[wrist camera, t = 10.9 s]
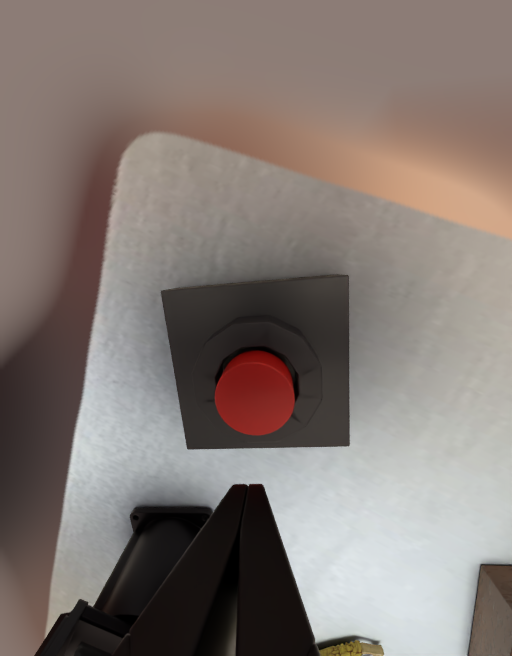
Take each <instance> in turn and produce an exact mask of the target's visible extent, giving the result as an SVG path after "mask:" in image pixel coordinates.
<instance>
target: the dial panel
mask: <svg viewBox="0 0 512 656" xmlns="http://www.w3.org/2000/svg"><path fill="white" fill-rule="evenodd" d="M468 656H512V566H500V565H481V571H480V578H479V585H478V592H477V599H476V606H475V613H474V620H473V627H472V634H471V641H470V648H469V655H468Z"/></svg>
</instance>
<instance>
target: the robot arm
mask: <svg viewBox="0 0 512 656" xmlns="http://www.w3.org/2000/svg"><path fill="white" fill-rule="evenodd" d="M130 520H131V524H132V528H133V532H134V533H133V535H132V536H131V538H130V540H129V542H128V544H127V546H126V547H125V549H124V551H123V553H122V555H121V557H120V558H119V560H118V562H117V564H116V566H115V568H114V569H113V571H112V573H111V575H110V577H109V579H108V580H107V582H106V584H105V586H104V588H103V590H102V591H101V593H100V595H99V597H98V599H97V601H96V602H95V604H94V606H93V607H92V606H90V605H88V602H87V601H84V600H82V599H79V601H78V602H77V604H76V606H75V607H74V609H73V610H72V611H71V612H69V613H64V614H60V616H59V618H58V619H57V621H56V622H55V624H54V626H53V627H52V629H51V630H50V632H49V634H48V635H47V637H46V638H45V640H44V642H43V643H42V645H41V646H40V648H39V649H38V651H37V652H36V654H35V655H34V656H321V655H320V652H319V649H318V646H317V644H315V638H314V635H313V632H312V629H311V626H310V623H309V620H308V617H307V614H306V611H305V608H304V605H303V602H302V599H301V596H300V593H299V590H298V587H297V584H296V581H295V578H294V575H293V572H292V569H291V566H290V563H289V560H288V557H287V554H286V551H285V548H284V545H283V542H282V539H281V536H280V533H279V530H278V527H277V524H276V521H275V518H274V515H273V512H272V509H271V507H270V504H269V501H268V498H267V495H266V492H265V489H264V486H263V485H262V484H250V485H249V486H248V485H246V484H234V485H233V486H232V487H231V488H230V489H229V491H228V492H227V494H226V495H225V496H224V498H223V499H222V501H221V502H220V503H219V505H218V506H217V508H216V509H215V510H214V512H213V513H212V511H211V510H210V509H208V508H135V509H134V510H133V511H132V513H131V515H130Z"/></svg>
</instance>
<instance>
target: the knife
mask: <svg viewBox="0 0 512 656" xmlns="http://www.w3.org/2000/svg"><path fill="white" fill-rule="evenodd" d="M345 643H346V644H345V645H344V644H343V643H342V644H341V645H340V646H339V645H337V646H336V647H335V646H331V647H328V648H325V649H322V650H319V652H320V655H321V656H361V655H363V654H372V655H374V656H383V655H384V652H383V648H382V646H381V645H372V644H367V643H360V642H359V641H358V640H355V642H352V641H350V643H347V642H345Z"/></svg>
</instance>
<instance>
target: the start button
mask: <svg viewBox="0 0 512 656" xmlns="http://www.w3.org/2000/svg"><path fill="white" fill-rule="evenodd" d="M215 404H216V407H217V410H218V412H219V414H220V416H221V418H222V419H223V420H224V421H225V422H226V423H227V424H228V425H229V426H230V427H231V428H233V429H235V430H236V431H238V432H241V433H244V434H248V435H265V434H269V433H272V432H274V431H276V430H278V429H279V428H281V427H282V426H283V425H284V424H285V423H286V422H287V421H288V419H289V418H290V416H291V414H292V412H293V409H294V404H295V396H294V389H293V382H292V376H291V373H290V371H289V369H288V367H287V366H286V364H285V363H284V362H283V361H282V360H281V359H280V358H278V357H277V356H275V355H273V354H271V353H269V352H265V351H259V350H253V351H247V352H244V353H241V354H239V355H237V356H236V357H234V358H233V359H232V360H231V361H230V362H229V363H228V365H227V366H226V368H225V370H224V372H223V374H222V376H221V378H220V379H219V381H218V384H217V386H216V390H215Z"/></svg>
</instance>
